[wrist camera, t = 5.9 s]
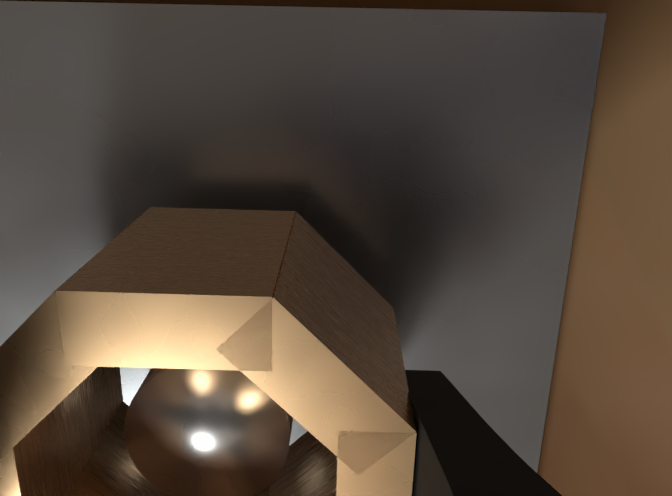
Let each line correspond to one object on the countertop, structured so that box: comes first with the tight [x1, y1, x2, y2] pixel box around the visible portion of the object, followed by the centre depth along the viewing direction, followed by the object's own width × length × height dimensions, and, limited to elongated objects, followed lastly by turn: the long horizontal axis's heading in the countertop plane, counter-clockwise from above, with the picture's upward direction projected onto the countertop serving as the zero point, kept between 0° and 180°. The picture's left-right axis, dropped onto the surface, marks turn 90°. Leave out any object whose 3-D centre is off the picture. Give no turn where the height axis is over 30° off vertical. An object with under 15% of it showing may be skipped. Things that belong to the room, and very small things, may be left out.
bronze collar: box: [0, 207, 417, 496], centre depth 9 cm, size 6×6×3 cm
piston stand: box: [0, 1, 607, 496], centre depth 11 cm, size 12×12×4 cm
